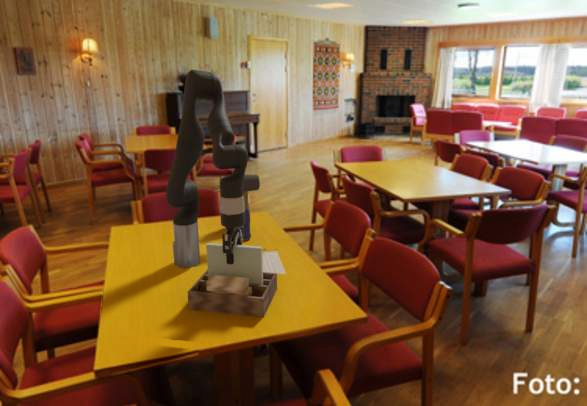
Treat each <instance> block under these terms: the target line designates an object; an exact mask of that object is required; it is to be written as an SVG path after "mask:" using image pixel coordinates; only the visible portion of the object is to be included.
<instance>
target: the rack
mask: <svg viewBox="0 0 587 406" xmlns="http://www.w3.org/2000/svg"><path fill="white" fill-rule="evenodd" d="M207 280H208V269H206V271H205V272H204V273H203V274H202V275H201V276H200V278H199V279H197V281H196V282H195V283H193V285H192V286H191V287H190V288H189V290H188V291H187V301H188V310H190V311H191V310H192V311H197V312H198V311H201V312H212V313H220V314H231V315H240V316H250V317H251V316H252V317H261V318H264V317H265V315H266V313H267V312H268V310H269V307H270V306H271V303H272V301H273V300H274V297H275V295H276V294H277V291H278V274H277V273H269V272H263V285H256V284H249V287H252V296H242V295H231V294H220V293H210V291H207V287H206V281H207Z"/></svg>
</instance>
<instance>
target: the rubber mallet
mask: <svg viewBox="0 0 587 406" xmlns="http://www.w3.org/2000/svg"><path fill="white" fill-rule="evenodd" d="M260 186H261V183H260V177H259V175H258V174H245V175H244V180H243V196H244V203H245V224H244V239H243V240H244V241H249V240H250V239H251V238H252V233H251V210H250V211H249V205H248V195H249V192H254V191H259V190H260ZM248 191H249V192H248Z"/></svg>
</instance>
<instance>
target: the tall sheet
mask: <svg viewBox="0 0 587 406" xmlns="http://www.w3.org/2000/svg"><path fill="white" fill-rule="evenodd" d="M205 247H206V248H205V249H206V263H207V270H208V279H209V278H210V277H211V276H212V275H220V276H232V277H244V278H249V284H256V285H263V254H262V252H263V251H262V250H263V246H257V245H246V244H245V245H244V244H242V245H236V246H235V247H234V252H233V253H234V263H233V264H227V262H226V253H223V243H214V242H207V243H206V244H205ZM225 247H226V246H225ZM228 249H229V246H228Z"/></svg>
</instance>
